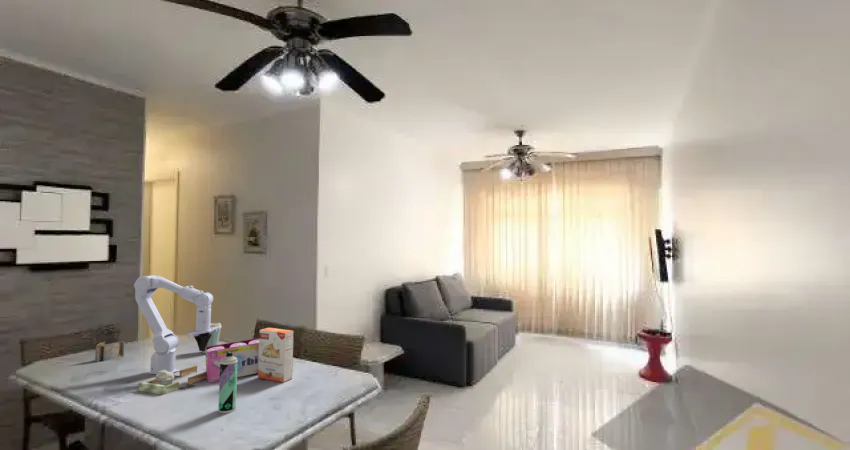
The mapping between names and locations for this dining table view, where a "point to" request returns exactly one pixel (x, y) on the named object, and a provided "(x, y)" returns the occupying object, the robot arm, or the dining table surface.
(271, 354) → the cracker box
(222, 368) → the spray can
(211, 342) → the disposable coffee cup
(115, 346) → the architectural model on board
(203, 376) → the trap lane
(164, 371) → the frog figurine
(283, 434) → the dining table surface
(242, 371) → the gum box
